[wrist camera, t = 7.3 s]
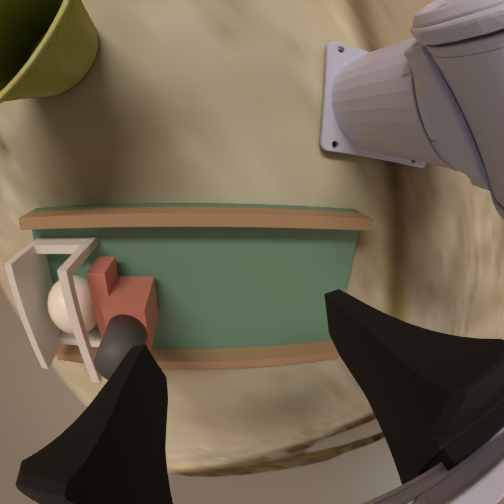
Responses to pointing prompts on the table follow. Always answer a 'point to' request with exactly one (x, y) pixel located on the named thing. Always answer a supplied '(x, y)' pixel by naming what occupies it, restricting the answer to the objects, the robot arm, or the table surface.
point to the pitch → (220, 275)
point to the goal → (36, 297)
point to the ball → (59, 308)
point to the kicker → (121, 312)
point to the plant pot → (44, 47)
